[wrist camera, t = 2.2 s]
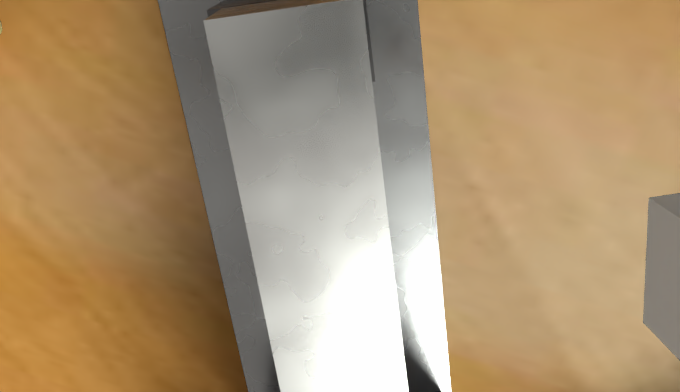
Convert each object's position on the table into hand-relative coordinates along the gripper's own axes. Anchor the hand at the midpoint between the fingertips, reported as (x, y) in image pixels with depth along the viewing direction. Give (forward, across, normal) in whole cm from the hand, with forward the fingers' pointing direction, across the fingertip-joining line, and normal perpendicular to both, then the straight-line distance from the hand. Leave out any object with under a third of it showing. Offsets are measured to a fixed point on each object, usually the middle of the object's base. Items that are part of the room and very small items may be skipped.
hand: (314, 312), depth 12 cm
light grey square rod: (+10, 0, -8) cm, 13 cm away
